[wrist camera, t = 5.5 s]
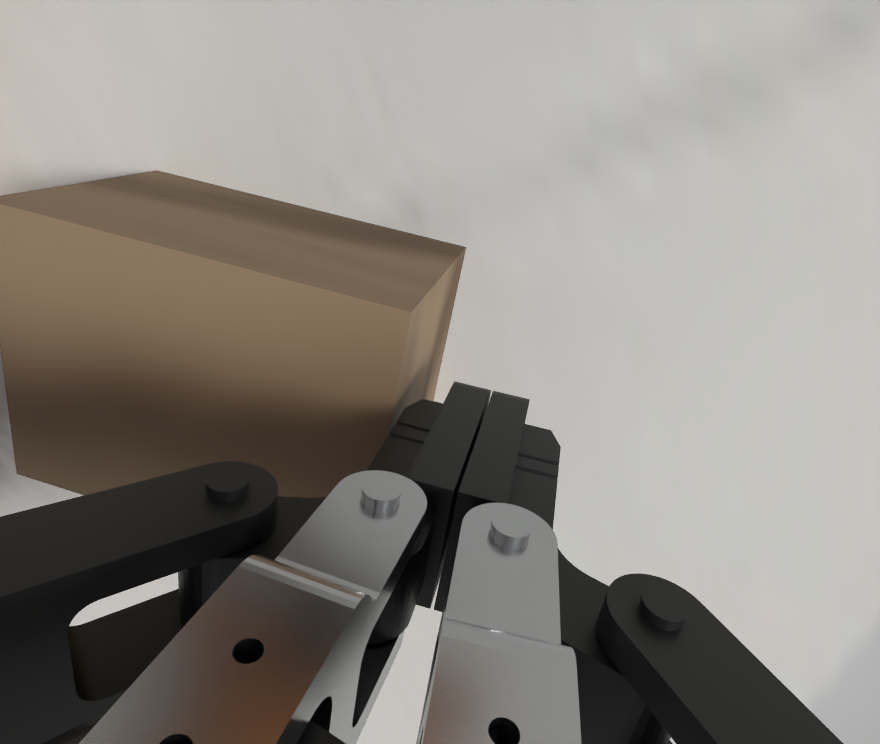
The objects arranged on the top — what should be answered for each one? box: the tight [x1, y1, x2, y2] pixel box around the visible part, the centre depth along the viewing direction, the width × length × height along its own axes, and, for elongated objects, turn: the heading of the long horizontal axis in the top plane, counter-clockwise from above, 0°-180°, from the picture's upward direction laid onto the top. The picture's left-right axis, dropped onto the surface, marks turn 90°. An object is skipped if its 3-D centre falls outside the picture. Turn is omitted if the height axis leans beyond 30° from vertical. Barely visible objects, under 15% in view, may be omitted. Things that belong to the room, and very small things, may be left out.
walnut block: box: [0, 171, 466, 498], centre depth 14 cm, size 6×8×5 cm
